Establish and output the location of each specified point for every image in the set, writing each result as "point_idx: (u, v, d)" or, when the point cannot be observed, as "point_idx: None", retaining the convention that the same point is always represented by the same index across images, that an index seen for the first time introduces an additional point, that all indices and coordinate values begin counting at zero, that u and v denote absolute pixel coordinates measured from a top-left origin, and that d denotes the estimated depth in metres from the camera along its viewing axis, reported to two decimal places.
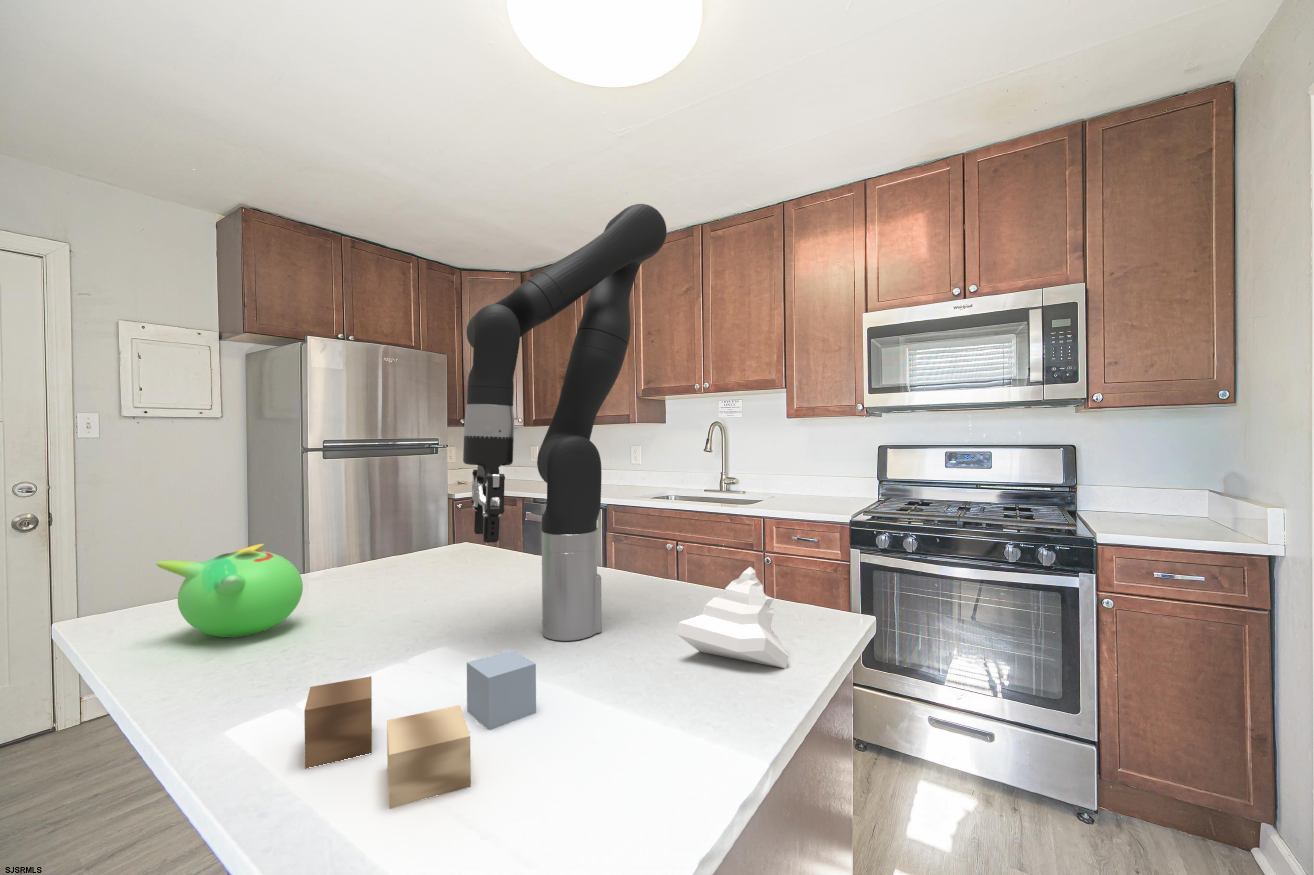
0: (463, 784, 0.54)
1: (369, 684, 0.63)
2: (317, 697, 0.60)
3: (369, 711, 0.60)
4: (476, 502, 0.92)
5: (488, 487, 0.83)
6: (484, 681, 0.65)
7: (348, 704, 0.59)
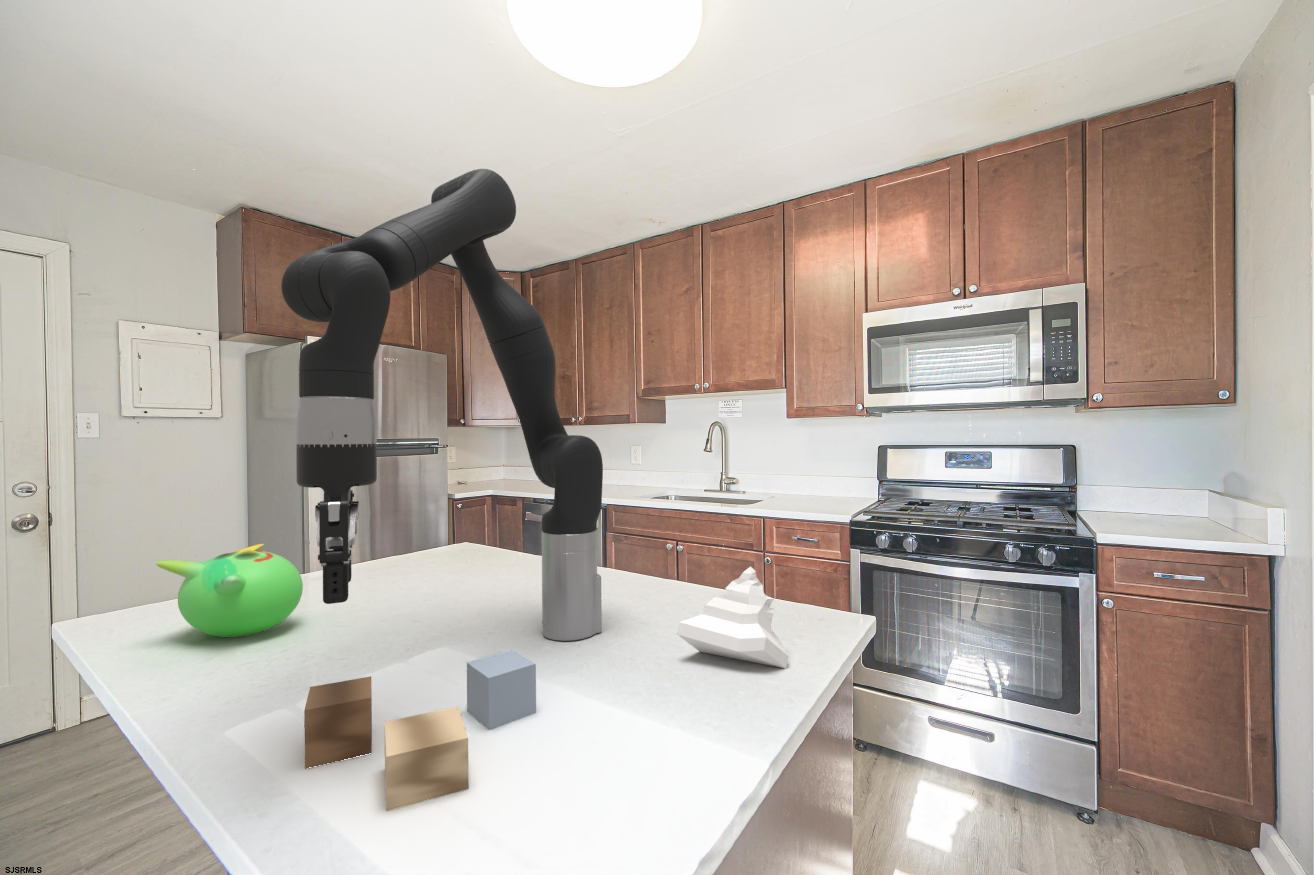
0: (461, 786, 0.54)
1: (369, 684, 0.63)
2: (317, 697, 0.60)
3: (369, 711, 0.60)
4: None
5: (321, 522, 0.55)
6: (484, 681, 0.65)
7: (348, 704, 0.59)
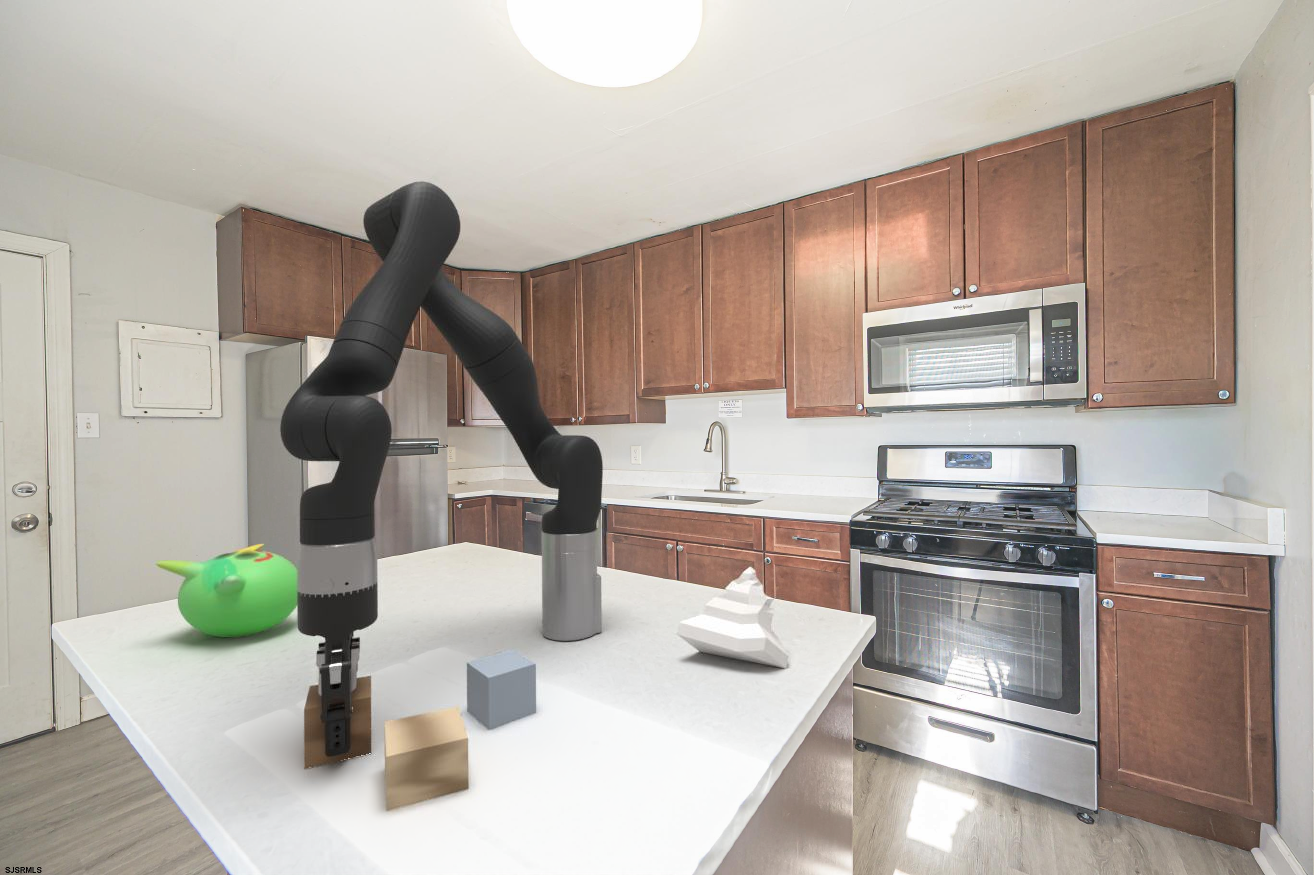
0: (461, 786, 0.54)
1: (369, 683, 0.63)
2: (316, 696, 0.60)
3: (369, 710, 0.60)
4: None
5: (322, 687, 0.55)
6: (484, 681, 0.65)
7: None
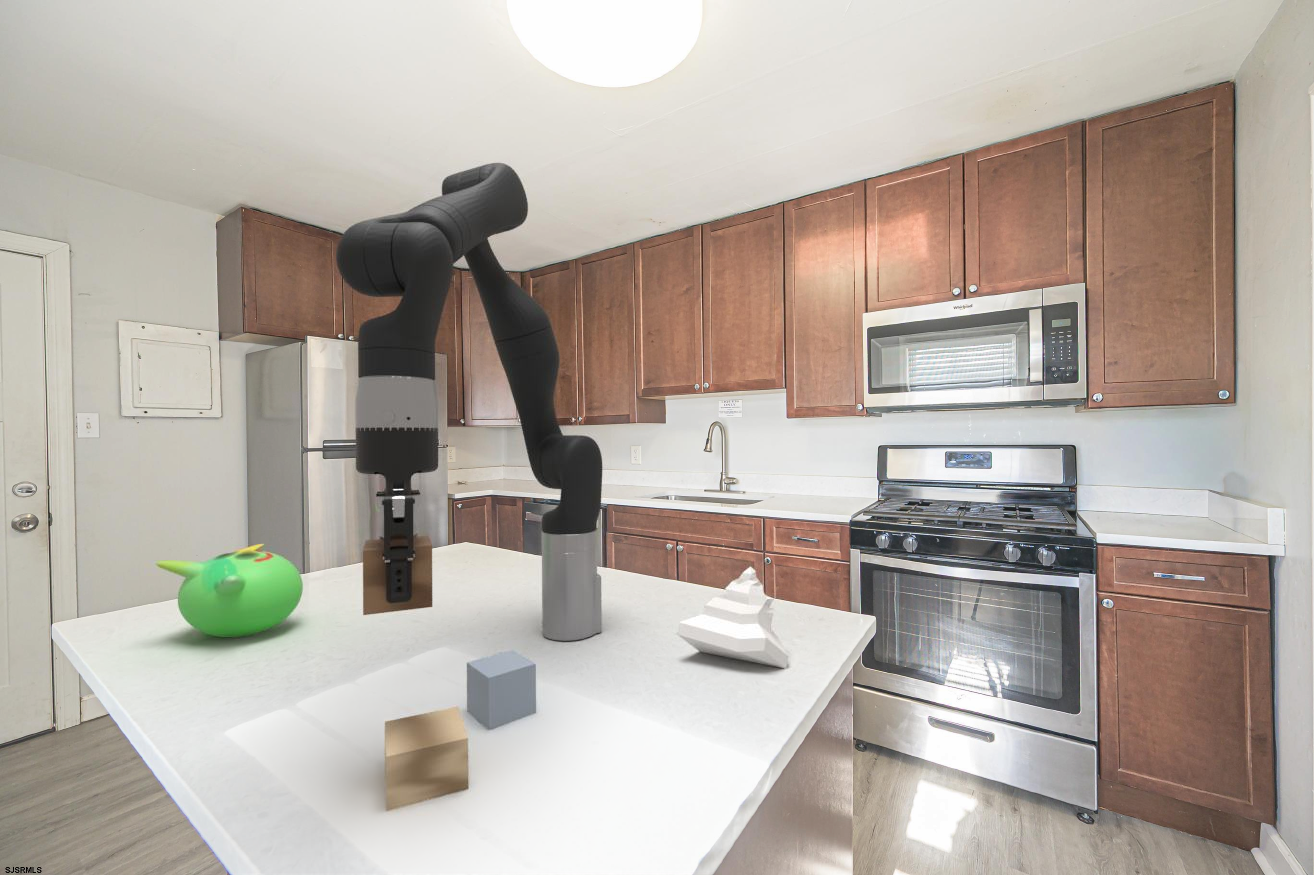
0: (461, 786, 0.54)
1: (428, 539, 0.59)
2: (374, 545, 0.56)
3: (430, 560, 0.56)
4: None
5: (385, 519, 0.51)
6: (484, 681, 0.65)
7: None
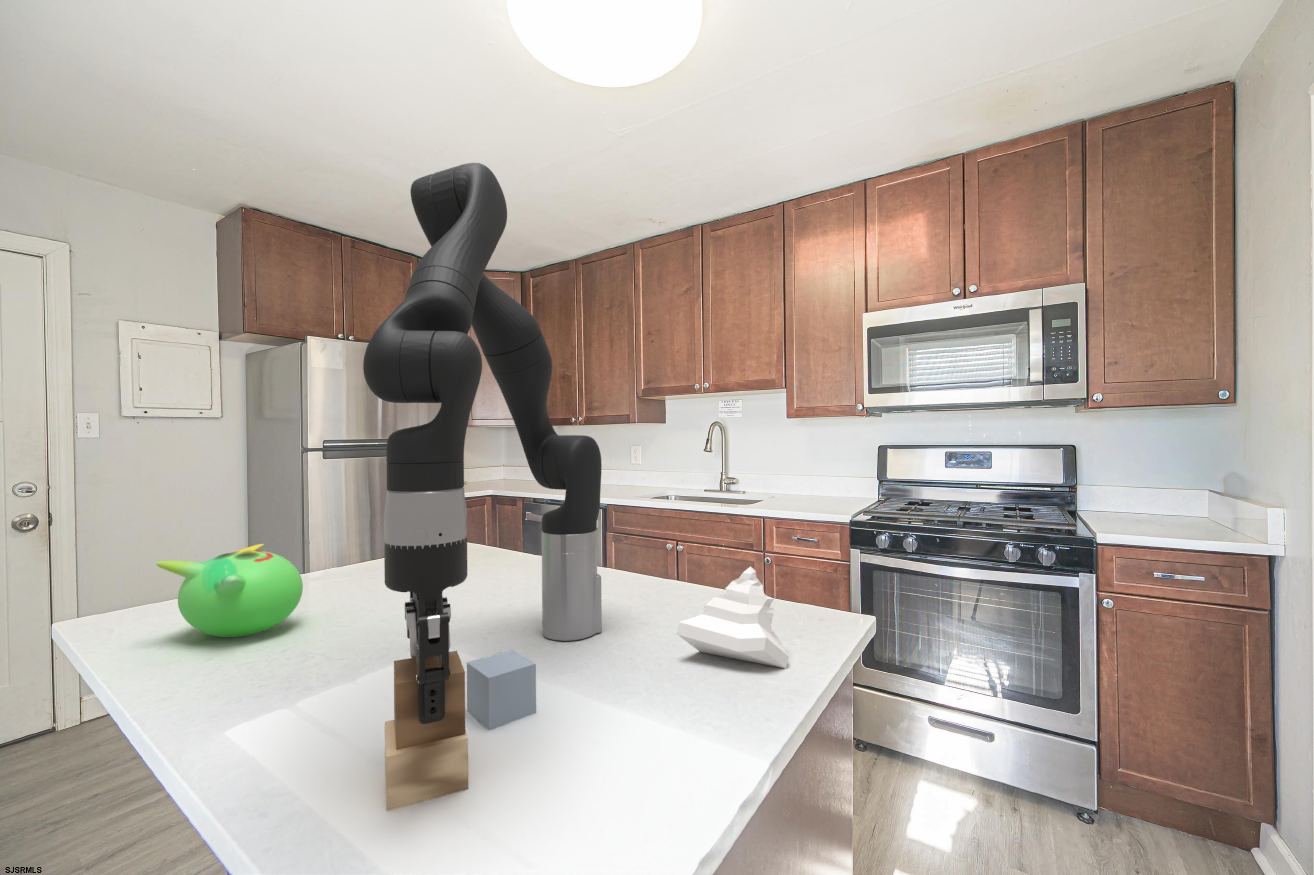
0: (461, 786, 0.54)
1: (457, 658, 0.58)
2: (405, 671, 0.55)
3: (462, 686, 0.54)
4: None
5: (420, 641, 0.49)
6: (484, 681, 0.65)
7: None
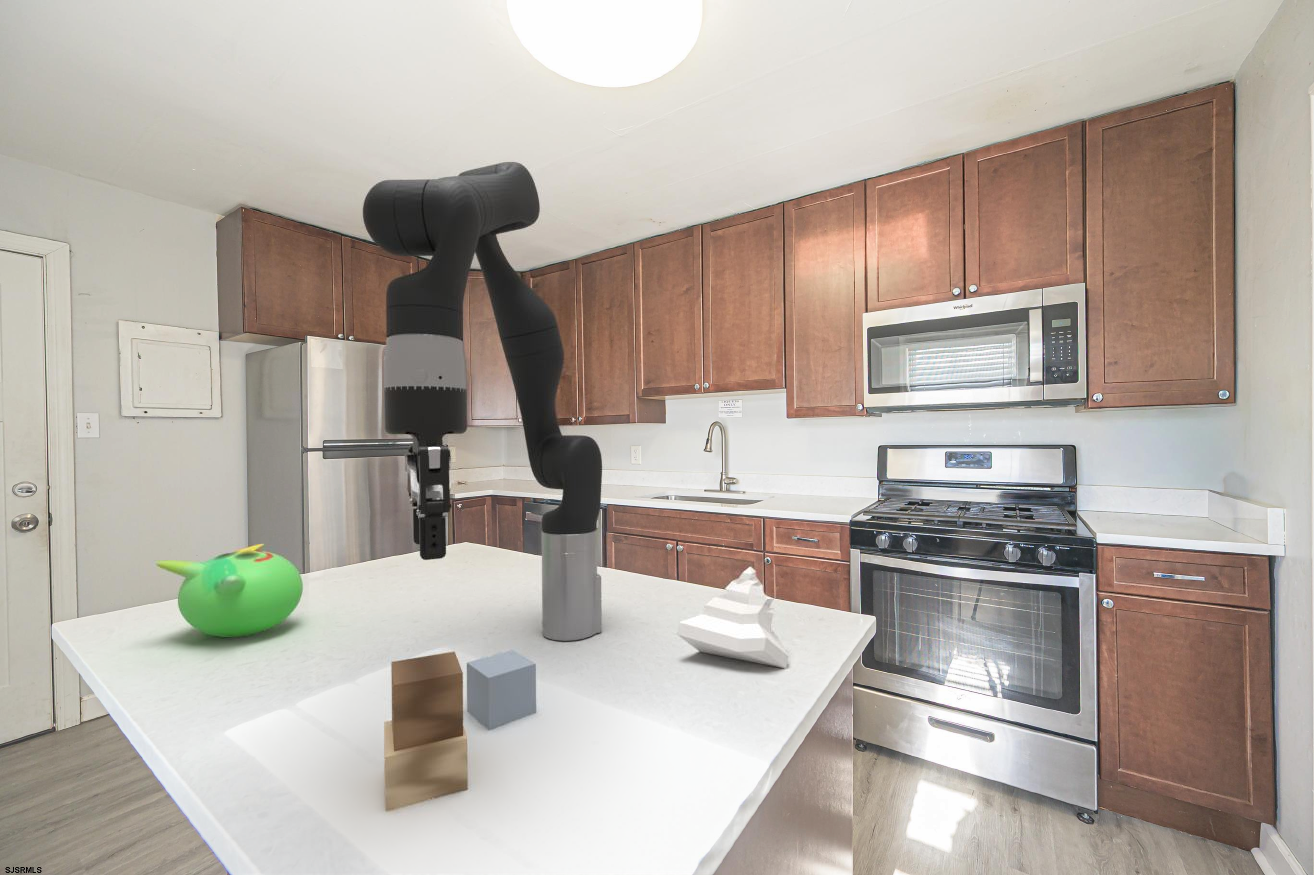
0: (460, 786, 0.54)
1: (455, 659, 0.57)
2: (402, 672, 0.54)
3: (460, 687, 0.54)
4: None
5: (421, 468, 0.50)
6: (484, 681, 0.65)
7: (439, 679, 0.53)
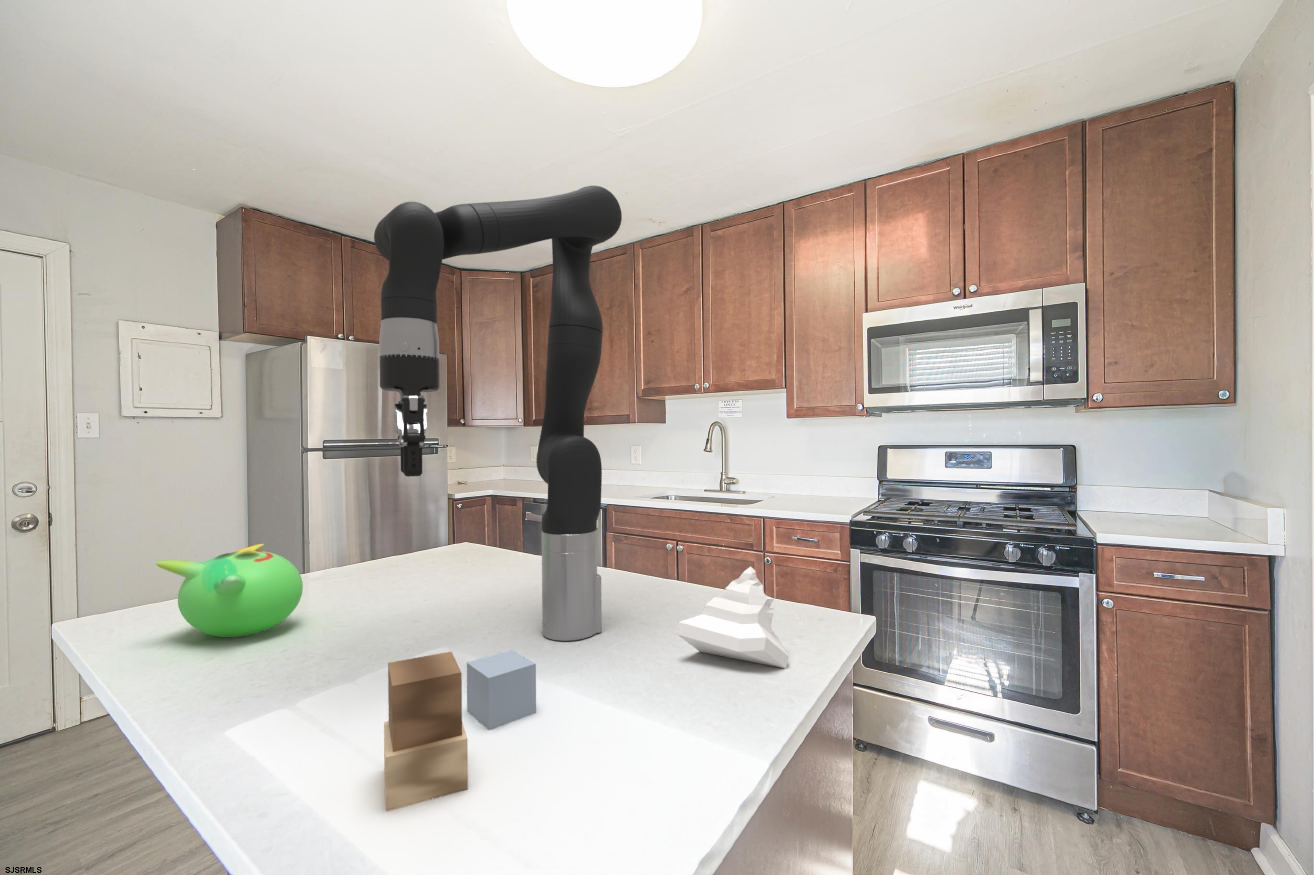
0: (460, 786, 0.54)
1: (453, 659, 0.58)
2: (400, 673, 0.54)
3: (459, 687, 0.54)
4: (401, 436, 0.81)
5: (404, 410, 0.72)
6: (484, 681, 0.65)
7: (438, 679, 0.53)
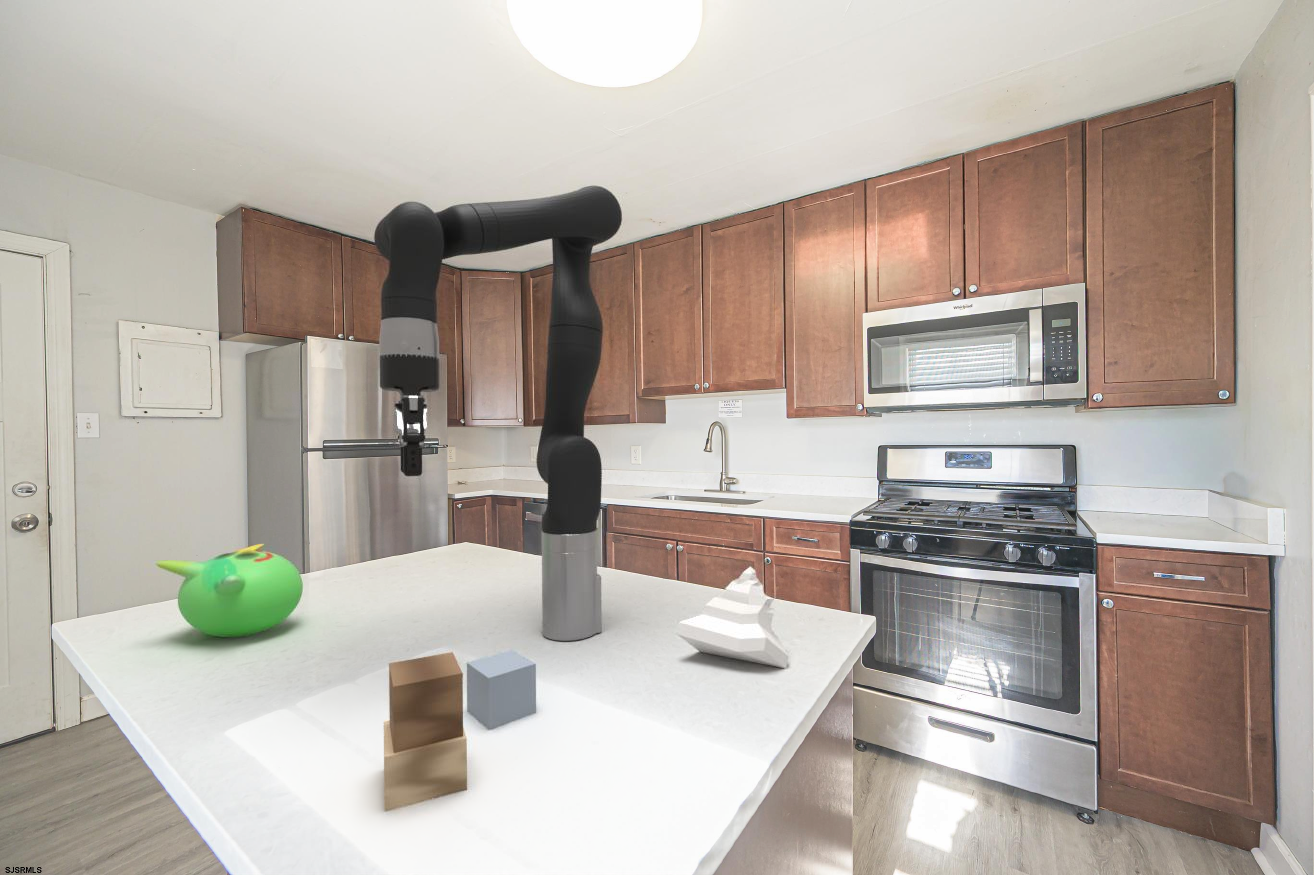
0: (459, 786, 0.54)
1: (454, 660, 0.57)
2: (401, 673, 0.54)
3: (460, 688, 0.54)
4: (401, 436, 0.81)
5: (404, 410, 0.72)
6: (484, 681, 0.65)
7: (439, 680, 0.53)
